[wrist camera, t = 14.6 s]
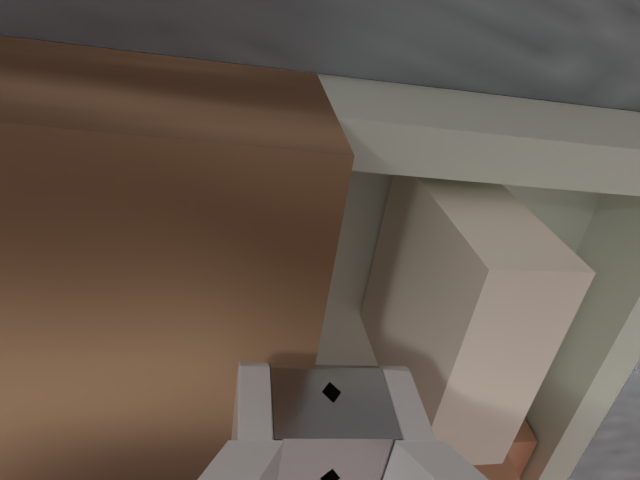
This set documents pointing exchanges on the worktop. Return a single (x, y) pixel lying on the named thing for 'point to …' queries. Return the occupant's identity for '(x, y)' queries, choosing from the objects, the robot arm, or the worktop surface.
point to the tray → (537, 196)
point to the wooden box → (153, 251)
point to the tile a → (470, 306)
